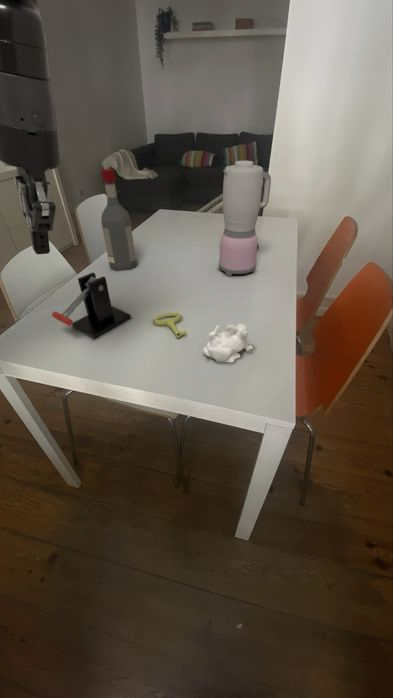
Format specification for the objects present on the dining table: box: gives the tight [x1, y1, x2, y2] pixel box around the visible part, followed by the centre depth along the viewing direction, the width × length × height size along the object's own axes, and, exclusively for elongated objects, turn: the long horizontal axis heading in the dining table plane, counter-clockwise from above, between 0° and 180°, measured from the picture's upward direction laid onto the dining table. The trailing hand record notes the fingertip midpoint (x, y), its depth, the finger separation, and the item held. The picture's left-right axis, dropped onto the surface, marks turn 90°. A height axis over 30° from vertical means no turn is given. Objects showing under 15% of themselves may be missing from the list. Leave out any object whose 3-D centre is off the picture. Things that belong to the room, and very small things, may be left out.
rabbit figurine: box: [202, 323, 254, 363], centre depth 68 cm, size 12×8×10 cm, turn 94°
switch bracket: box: [71, 271, 131, 340], centre depth 80 cm, size 12×9×13 cm
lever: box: [51, 276, 98, 327], centre depth 75 cm, size 13×6×2 cm, turn 143°
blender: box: [218, 160, 272, 277], centre depth 99 cm, size 16×12×32 cm
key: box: [153, 311, 187, 338], centre depth 81 cm, size 7×12×2 cm, turn 39°
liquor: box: [100, 168, 138, 272], centre depth 104 cm, size 9×9×30 cm
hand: (41, 252), depth 51 cm, fingers closed
